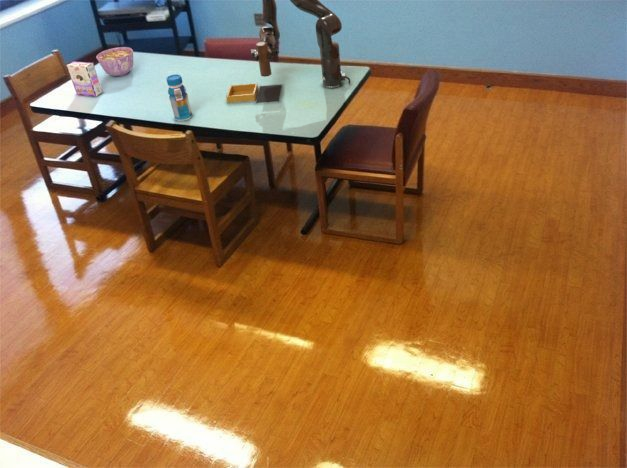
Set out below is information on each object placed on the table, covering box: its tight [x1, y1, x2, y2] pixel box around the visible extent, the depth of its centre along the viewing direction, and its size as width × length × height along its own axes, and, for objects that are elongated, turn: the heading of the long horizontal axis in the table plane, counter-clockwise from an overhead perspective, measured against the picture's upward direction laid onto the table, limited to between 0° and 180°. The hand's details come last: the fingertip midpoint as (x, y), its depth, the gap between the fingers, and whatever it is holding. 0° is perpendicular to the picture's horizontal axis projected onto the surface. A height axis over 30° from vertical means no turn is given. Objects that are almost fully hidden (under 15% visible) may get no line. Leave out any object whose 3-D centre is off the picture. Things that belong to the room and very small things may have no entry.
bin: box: [226, 82, 259, 103], centre depth 293 cm, size 14×14×4 cm
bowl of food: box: [95, 46, 134, 77], centre depth 333 cm, size 20×20×12 cm
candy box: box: [66, 61, 104, 98], centre depth 312 cm, size 14×6×16 cm, turn 65°
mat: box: [255, 84, 283, 104], centre depth 293 cm, size 11×20×1 cm, turn 178°
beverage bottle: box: [166, 73, 193, 122], centre depth 276 cm, size 8×8×20 cm
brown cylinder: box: [255, 41, 272, 78], centre depth 283 cm, size 5×5×15 cm
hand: (262, 58), depth 280 cm, fingers closed on brown cylinder, 5 cm apart
